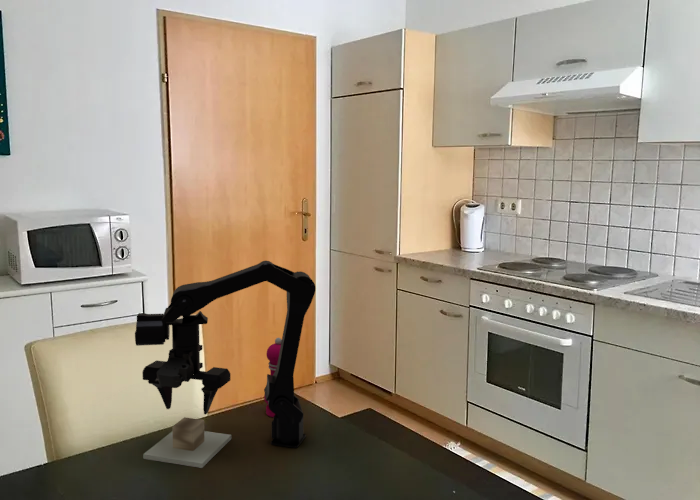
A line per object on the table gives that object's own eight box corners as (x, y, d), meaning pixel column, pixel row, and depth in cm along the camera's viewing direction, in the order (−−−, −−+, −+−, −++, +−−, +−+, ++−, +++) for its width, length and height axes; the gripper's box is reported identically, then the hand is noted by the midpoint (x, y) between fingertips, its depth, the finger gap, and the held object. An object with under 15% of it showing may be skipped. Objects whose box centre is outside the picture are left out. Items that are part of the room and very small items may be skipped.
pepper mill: (287, 420, 150) (287, 343, 147) (260, 417, 152) (259, 340, 149) (295, 408, 157) (296, 334, 154) (269, 406, 159) (269, 332, 156)
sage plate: (231, 438, 139) (231, 434, 139) (202, 467, 126) (201, 463, 126) (177, 431, 143) (177, 427, 143) (143, 458, 129) (143, 454, 129)
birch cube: (204, 441, 136) (204, 420, 135) (193, 451, 131) (192, 429, 130) (184, 438, 137) (184, 417, 136) (172, 447, 132) (172, 426, 132)
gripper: (126, 349, 125) (128, 420, 128) (207, 358, 121) (207, 432, 123) (156, 335, 136) (157, 401, 138) (231, 343, 131) (231, 411, 134)
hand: (187, 411), depth 133 cm, fingers open, 9 cm apart
